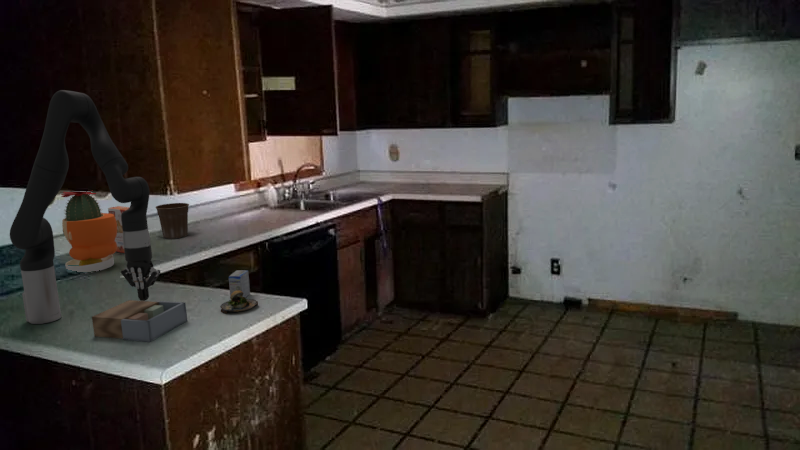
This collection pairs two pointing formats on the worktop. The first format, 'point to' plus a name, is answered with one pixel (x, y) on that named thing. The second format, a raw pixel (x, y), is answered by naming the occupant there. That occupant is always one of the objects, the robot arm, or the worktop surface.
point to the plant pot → (173, 219)
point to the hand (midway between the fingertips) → (144, 299)
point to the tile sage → (154, 311)
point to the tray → (155, 323)
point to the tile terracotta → (139, 316)
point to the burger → (238, 303)
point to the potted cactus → (88, 233)
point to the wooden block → (118, 318)
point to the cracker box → (118, 226)
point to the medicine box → (239, 282)
